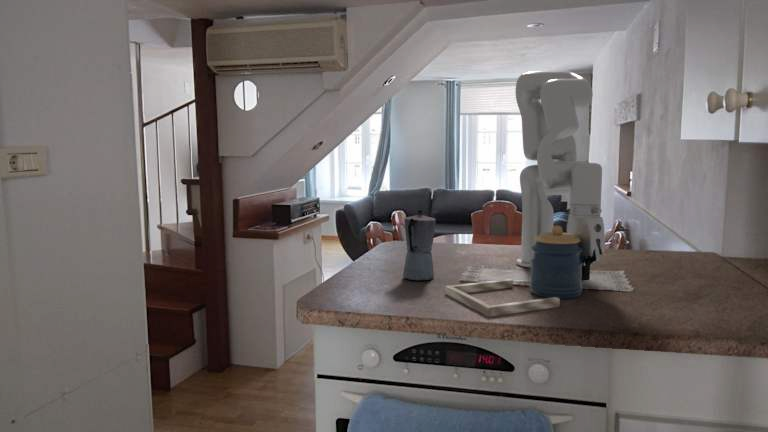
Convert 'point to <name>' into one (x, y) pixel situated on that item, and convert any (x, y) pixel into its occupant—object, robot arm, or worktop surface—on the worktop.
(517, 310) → the bay frame
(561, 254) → the canister
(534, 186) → the robot arm
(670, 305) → the worktop surface
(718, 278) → the worktop surface
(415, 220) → the moka pot
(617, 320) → the worktop surface
